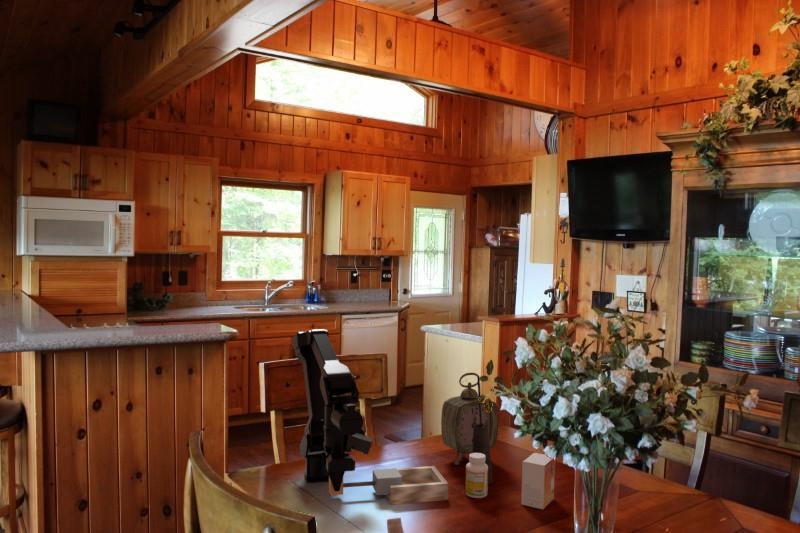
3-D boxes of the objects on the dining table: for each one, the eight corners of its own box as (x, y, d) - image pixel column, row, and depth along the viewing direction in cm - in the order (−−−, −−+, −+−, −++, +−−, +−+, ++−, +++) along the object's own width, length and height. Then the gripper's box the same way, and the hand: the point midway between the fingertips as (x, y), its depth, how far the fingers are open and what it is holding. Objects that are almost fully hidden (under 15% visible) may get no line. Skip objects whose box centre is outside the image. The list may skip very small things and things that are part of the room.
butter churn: (485, 471, 171) (488, 368, 170) (509, 483, 163) (512, 375, 162) (458, 478, 166) (461, 372, 165) (482, 490, 158) (484, 379, 157)
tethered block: (331, 498, 148) (331, 480, 148) (328, 488, 154) (328, 471, 154) (401, 493, 152) (401, 475, 152) (396, 483, 158) (396, 467, 158)
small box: (543, 510, 147) (544, 465, 146) (520, 504, 150) (521, 461, 149) (554, 499, 154) (555, 456, 153) (532, 493, 157) (533, 451, 156)
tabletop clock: (454, 468, 173) (456, 377, 172) (437, 458, 181) (438, 371, 180) (497, 460, 180) (499, 373, 179) (479, 451, 188) (481, 367, 187)
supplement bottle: (474, 488, 159) (475, 450, 159) (491, 494, 155) (493, 455, 155) (460, 494, 156) (461, 455, 155) (478, 500, 152) (479, 460, 151)
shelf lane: (390, 504, 148) (391, 487, 148) (380, 485, 160) (380, 469, 160) (447, 499, 152) (448, 483, 152) (433, 481, 163) (434, 465, 163)
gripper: (377, 433, 144) (376, 500, 144) (363, 411, 162) (362, 471, 162) (328, 436, 141) (327, 505, 142) (319, 413, 159) (318, 474, 160)
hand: (335, 487), depth 151 cm, fingers closed on tethered block, 4 cm apart
